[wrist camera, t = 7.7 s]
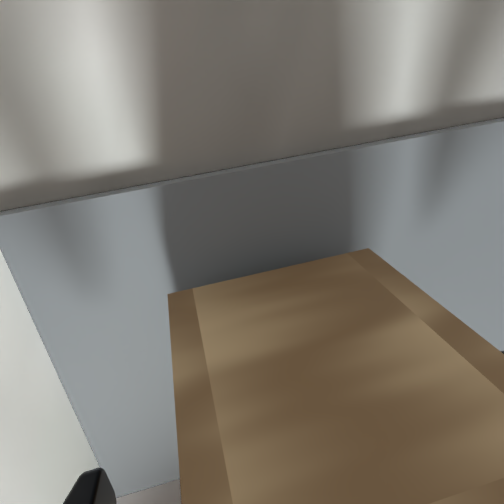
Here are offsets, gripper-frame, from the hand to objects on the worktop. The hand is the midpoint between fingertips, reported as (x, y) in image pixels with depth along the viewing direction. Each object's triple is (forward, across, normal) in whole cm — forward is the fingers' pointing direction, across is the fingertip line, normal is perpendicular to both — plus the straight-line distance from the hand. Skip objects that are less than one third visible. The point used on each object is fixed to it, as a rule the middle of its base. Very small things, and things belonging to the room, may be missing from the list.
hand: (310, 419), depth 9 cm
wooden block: (+2, 0, 0) cm, 2 cm away
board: (+4, -6, 0) cm, 7 cm away
